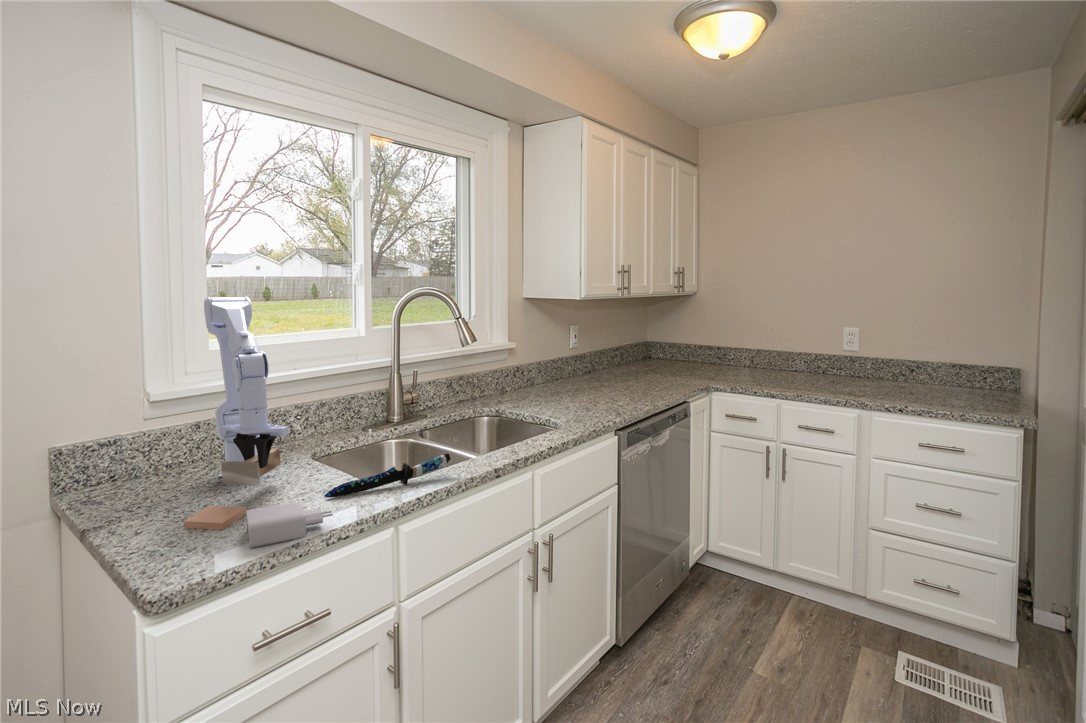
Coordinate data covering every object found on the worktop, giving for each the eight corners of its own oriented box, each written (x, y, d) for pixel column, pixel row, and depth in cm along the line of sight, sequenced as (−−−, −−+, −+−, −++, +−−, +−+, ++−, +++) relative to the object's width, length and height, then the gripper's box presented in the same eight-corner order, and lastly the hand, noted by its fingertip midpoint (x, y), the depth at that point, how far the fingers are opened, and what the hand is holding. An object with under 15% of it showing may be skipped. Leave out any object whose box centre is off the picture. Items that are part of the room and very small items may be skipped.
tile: (210, 505, 121) (183, 521, 114) (246, 507, 121) (222, 522, 113) (210, 513, 122) (184, 529, 114) (247, 515, 121) (223, 531, 113)
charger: (336, 533, 112) (249, 550, 105) (328, 516, 120) (247, 531, 113) (335, 510, 111) (248, 525, 104) (327, 494, 119) (245, 508, 112)
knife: (450, 468, 146) (448, 451, 146) (454, 471, 144) (452, 454, 143) (323, 503, 131) (320, 485, 131) (326, 508, 129) (323, 489, 128)
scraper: (259, 463, 139) (258, 443, 138) (291, 464, 138) (290, 444, 138) (222, 484, 125) (221, 461, 125) (258, 485, 125) (256, 463, 124)
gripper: (210, 410, 126) (215, 470, 128) (274, 412, 125) (278, 473, 126) (230, 403, 133) (234, 461, 135) (291, 405, 132) (294, 463, 133)
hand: (257, 466), depth 131 cm, fingers closed on scraper, 2 cm apart
